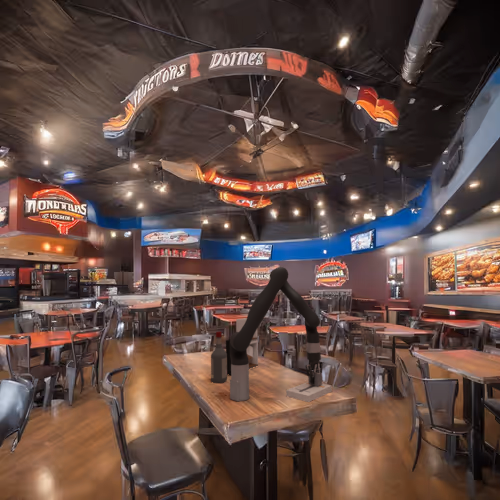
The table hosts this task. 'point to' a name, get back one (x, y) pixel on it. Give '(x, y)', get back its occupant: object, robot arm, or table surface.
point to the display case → (253, 347)
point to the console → (308, 391)
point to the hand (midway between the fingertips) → (315, 382)
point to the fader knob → (316, 379)
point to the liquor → (218, 362)
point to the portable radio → (228, 356)
